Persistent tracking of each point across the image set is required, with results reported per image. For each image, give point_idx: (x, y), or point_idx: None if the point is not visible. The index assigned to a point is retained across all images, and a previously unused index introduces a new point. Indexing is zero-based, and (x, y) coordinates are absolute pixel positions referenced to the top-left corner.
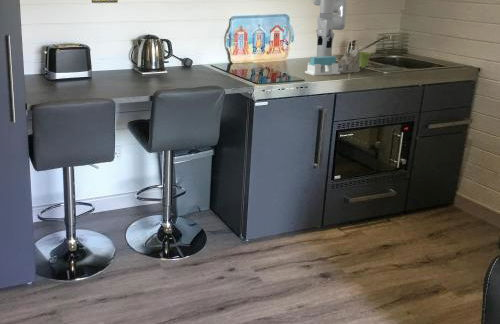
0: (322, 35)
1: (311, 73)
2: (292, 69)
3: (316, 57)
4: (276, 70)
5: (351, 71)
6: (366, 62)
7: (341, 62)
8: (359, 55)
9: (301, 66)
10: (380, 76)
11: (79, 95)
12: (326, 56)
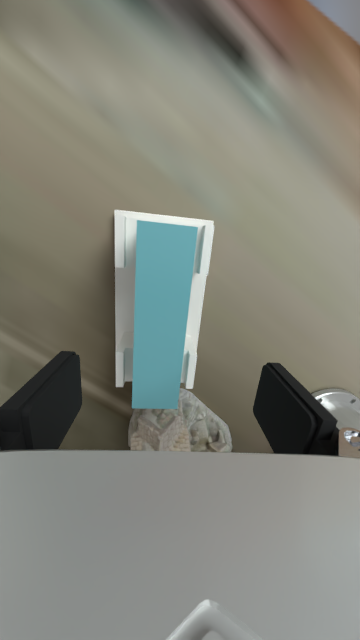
0: (88, 474)
1: (142, 213)
2: (318, 219)
3: (159, 261)
4: (351, 91)
5: (130, 424)
6: None
7: (157, 424)
8: None
9: (349, 317)
10: None
11: None
12: (175, 364)
